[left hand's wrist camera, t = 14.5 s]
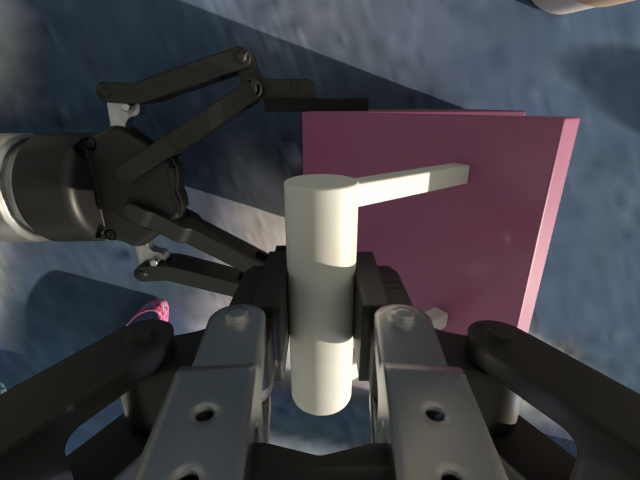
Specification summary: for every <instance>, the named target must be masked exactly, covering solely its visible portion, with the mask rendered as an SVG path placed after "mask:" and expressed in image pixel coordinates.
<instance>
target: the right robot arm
mask: <svg viewBox="0 0 640 480" xmlns="http://www.w3.org/2000/svg"><path fill="white" fill-rule="evenodd" d="M238 75H239V77H240V79H241V82H242V85H240V86H239V87H237V88H236V89H234V90H233V91H231V92H230V93H228V94H227V95H225V96H224V97H223V98H221V99H220V100H218V101H217V102H215V103H214V104H212V105H211V106H209V107H208V108H206V109H205V110H203V111H202V112H200V113H199V114H198V115H196V116H195V117H193V118H192V119H190V120H189V121H187V122H186V123H184V124H183V125H181V126H180V127H178V128H177V129H176V130H174V131H173V132H171V133H170V134H168V135H166V136H164V137H162V138H160V139H159V140H157V141H154V140H153V139H151V138H149V137H148V136H146V135H145V134H143V133H142V132H140V131H139V130H137V129H136V128H134V127H132V121H133V119H134V118H136V117H138V116H142V115H143V114H144V113H145V111H146V105H145V104H153V103H159V102H162V101H165V100H168V99H171V98H174V97H177V96H180V95H183V94H186V93H189V92H191V91H194V90H197V89H200V88H203V87H206V86H209V85H212V84H215V83H217V82H220V81H223V80H226V79H229V78H232V77H235V76H238ZM96 92H97V95H98V97H99V98H100V99H101V100H102V101H104V102H107V106H108V113H109V119H110V126H111V127H108V128H107V129H105V130H104V131H102V132H100V133H41V134H37V135H35V134H32V133H0V242H42V241H48V240H52V241H107V240H119V241H123V242H126V243H128V244H130V245H133V246H134V247H135V250H136V254H137V258H138V262H139V266H138V267H137V268H136V269H135V271H134V276H135V278H136V279H137V280H139V281H144V282H145V281H162V280H167V281H171V282H176V283H180V284H184V285H188V286H192V287H196V288H200V289H204V290H208V291H212V292H216V293H220V294H224V295H228V296H232V297H233V296H234V294H235V292H236V290H237V289H238V285H239V283H240V282H241V279H242V276H243V274H244V272H246V271H247V270H248V269H250V268H251V267H252V266H265V263H266V260H267V258H268V255H269V254H268V253H266V252H264V251H263V250H261V249H259V248H257V247H255V246H253V245H251V244H249V243H247V242H245V241H243V240H241V239H239V238H238V237H236V236H234V235H232V234H230V233H228V232H226V231H224V230H222V229H220V228H218V227H216V226H214V225H213V224H211V223H209V222H207V221H205V220H203V219H202V218H201V217H200V215H198V214H197V213H195V212H193V211H191V210H189V209H187V208H186V207H187V206H188V205H189V202H188V195H187V192H186V190H185V188H184V185H183V182H184V175H185V173H184V165H183V163H180V161H179V159H178V158H177V157H178V156H179V155H181V154H182V153H184V152H185V151H187V150H188V149H190V148H191V147H192V146H193V145H195V144H196V143H198V142H199V141H201V140H202V139H204V138H205V137H207V136H208V135H210V134H211V133H213V132H214V131H216V130H217V129H219V128H220V127H222V126H223V125H225V124H226V123H228V122H229V121H231V120H232V119H234V118H235V117H237V116H239V115H240V114H242V113H243V112H245V111H246V110H248V109H249V108H251V107H252V106H254V105H255V104H257V103H258V102H260V101H261V100H265V112H280V111H368V99H369V98H363V99H315V83H314V82H312V81H310V80H307V79H266V78H264V77H263V76H262V74H261V73H260V70H259V68H258V65H257V62H256V58H255V56H254V55H253V54H252V53H251V52H250V51H249V50H248V49H246V48H245V47H243V46H237V47H234V48H231V49H228V50H225V51H222V52H220V53H217V54H214V55H211V56H208V57H205V58H203V59H200V60H197V61H194V62H191V63H188V64H186V65H183V66H180V67H177V68H174V69H171V70H169V71H166V72H163V73H160V74H157V75H154V76H152V77H149V78H146V79H143V80H140V81H137V82H135V83H118V82H101V83H99V84H98V86H97V88H96ZM160 234H161V235H163V236H165V237H168V238H170V239H172V240H174V241H176V242H179V243H187V244H189V245H191V246H193V247H195V248H197V249H199V250H201V251H203V252H205V253H207V254H209V255H211V256H213V257H215V258H217V259H219V260H221V261H223V262H225V263H227V264H229V265H231V266H233V267H230V266H226V265H222V264H219V263H215V262H211V261H207V260H203V259H199V258H195V257H192V256H188V255H183V254H176V253H169V250H168V249H167V248H160V247H157V246H156V245H155V244H154V243H153V241H152V240H153V239H154V238H156V237H157V236H158V235H160ZM275 252H286V246H276V250H275ZM234 267H235V268H234ZM5 391H7V390H6V388H5V386H4V384H2V383H1V382H0V394H2V393H4V392H5Z"/></svg>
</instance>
